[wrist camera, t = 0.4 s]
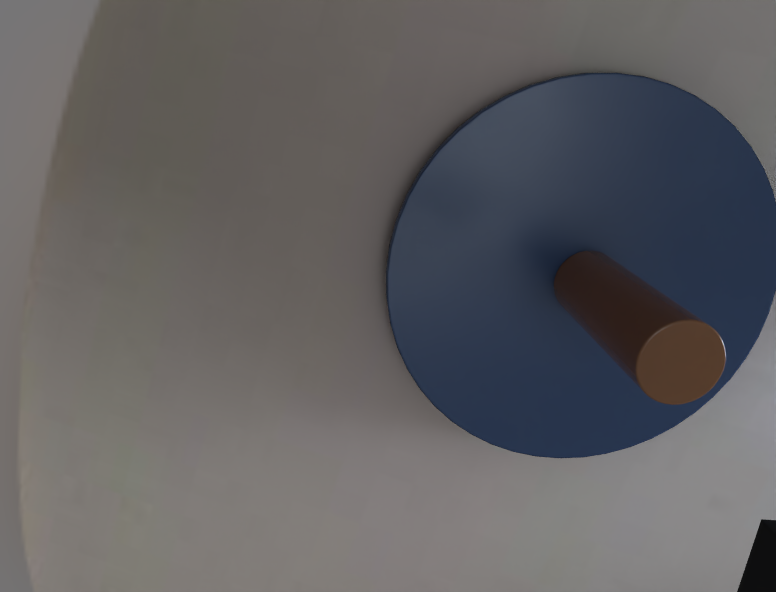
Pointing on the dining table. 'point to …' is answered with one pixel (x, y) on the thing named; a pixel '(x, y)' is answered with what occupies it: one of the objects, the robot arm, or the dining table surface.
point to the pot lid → (582, 264)
